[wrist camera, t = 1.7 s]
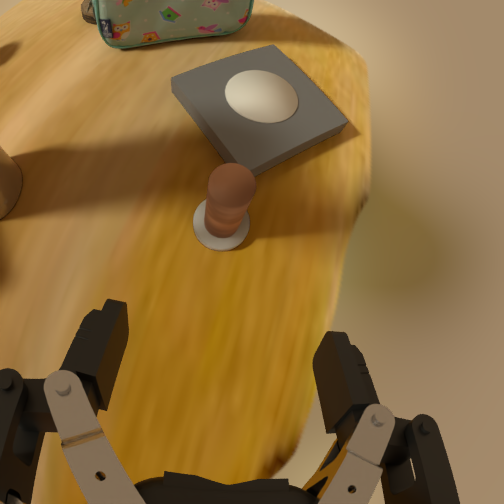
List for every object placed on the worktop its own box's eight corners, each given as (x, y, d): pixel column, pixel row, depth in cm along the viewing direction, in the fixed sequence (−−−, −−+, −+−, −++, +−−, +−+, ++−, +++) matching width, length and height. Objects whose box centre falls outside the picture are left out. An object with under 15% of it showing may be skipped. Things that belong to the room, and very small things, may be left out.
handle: (182, 216, 35) (179, 172, 24) (228, 189, 37) (242, 140, 26) (213, 261, 34) (221, 235, 24) (258, 232, 36) (284, 196, 26)
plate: (171, 91, 39) (171, 76, 36) (269, 56, 44) (273, 43, 40) (241, 184, 37) (245, 172, 34) (340, 132, 42) (349, 120, 39)
